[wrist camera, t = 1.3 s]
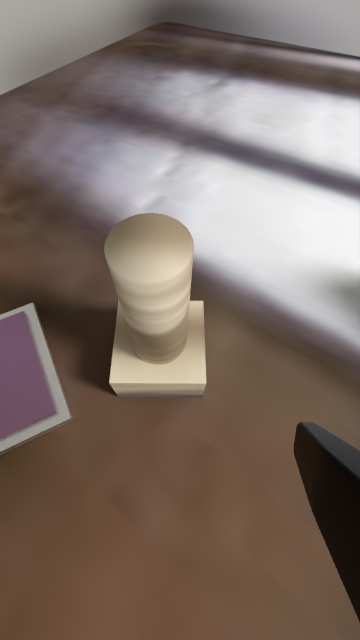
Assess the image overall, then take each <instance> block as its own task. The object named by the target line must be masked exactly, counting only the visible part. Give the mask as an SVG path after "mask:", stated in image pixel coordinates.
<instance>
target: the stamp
mask: <svg viewBox="0 0 360 640" xmlns="http://www.w3.org/2000/svg"><path fill="white" fill-rule="evenodd" d="M193 248H194V244H193V239H192V236H191V234H190V232H189V231H188V229H187V228H186V227H185V226H184V225H183V224H182V223H181V222H179V221H178V220H176V219H174V218H172V217H169V216H166V215H162V214H155V213H146V214H139V215H135V216H132V217H129V218H127V219H125V220H123V221H121V222H120V223H118V224H117V225H116V226H115V227H114V228H113V229H112V230H111V231H110V233H109V234H108V236H107V238H106V241H105V246H104V251H105V256H106V260H107V263H108V266H109V270H110V273H111V276H112V279H113V283H114V286H115V289H116V293H117V296H118V299H119V301H118V309H117V318H116V327H115V336H114V345H113V354H112V363H111V372H110V381H109V383H110V385H111V387H112V388H113V390H114V391H115V393H116V394H117V396H118V397H202V396H203V393H204V390H205V386H206V362H205V336H204V310H203V301H190V288H191V275H192V262H193Z"/></svg>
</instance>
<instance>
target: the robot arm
mask: <svg viewBox="0 0 360 640" xmlns="http://www.w3.org/2000/svg"><path fill="white" fill-rule="evenodd" d="M294 455H295V459H296V462H297V465H298V468H299V472H300V475H301V478H302V481H303V484H304V487H305V491H306V494H307V497H308V500H309V503H310V506H311V509H312V512H313V514H314V517H315V519H316V522H317V524H318V527H319V529H320V531H321V533H322V536H323V538H324V540H325V543H326V545H327V547H328V550H329V552H330V554H331V557H332V559H333V561H334V564H335V566H336V568H337V571H338V573H339V575H340V578H341V580H342V582H343V585H344V587H345V589H346V592H347V594H348V596H349V598H350V601H351V603H352V605H353V608H354V610H355V612H356V615H357V617H358V619H359V622H360V450H358V449H357V448H355V447H353V446H352V445H350V444H349V443H347V442H345V441H344V440H342V439H340V438H339V437H337V436H335V435H334V434H332V433H331V432H329V431H327V430H326V429H324V428H322V427H321V426H319V425H317V424H316V423H314V422H300V423H298V425H297V428H296V435H295V442H294Z"/></svg>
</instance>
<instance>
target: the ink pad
mask: <svg viewBox="0 0 360 640" xmlns="http://www.w3.org/2000/svg"><path fill="white" fill-rule="evenodd" d="M72 421H74V417H73V414H72V411H71V408H70V405H69V402H68V399H67V396H66V393H65V390H64V387H63V384H62V381H61V378H60V375H59V372H58V369H57V366H56V363H55V360H54V357H53V354H52V352H51V349H50V346H49V343H48V340H47V337H46V334H45V331H44V328H43V325H42V322H41V319H40V316H39V313H38V310H37V307H36V306H35V305H34V303H30V304H27V305H25V306H22V307H20V308H17V309H14V310H12V311H9V312H6V313H4V314H1V315H0V456H1V455H3V454H5V453H7V452H9V451H11V450H13V449H16V448H18V447H20V446H22V445H24V444H26V443H28V442H30V441H32V440H34V439H36V438H38V437H41V436H43V435H45V434H47V433H49V432H51V431H53V430H55V429H57V428H59V427H61V426H63V425H65V424H68V423H70V422H72Z"/></svg>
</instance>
